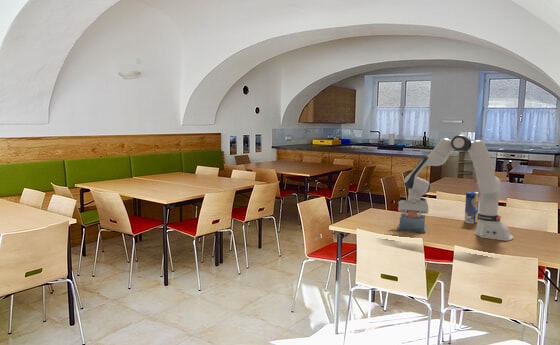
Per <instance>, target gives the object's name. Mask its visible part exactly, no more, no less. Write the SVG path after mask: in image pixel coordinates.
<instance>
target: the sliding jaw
mask: <svg viewBox="0 0 560 345" xmlns="http://www.w3.org/2000/svg"><path fill="white" fill-rule="evenodd" d="M417 215H419V213H417ZM400 217H406V214H405V212H401V215H400ZM419 218H420V219H424V225H426V224H425V222H426V219H425V218H426V214H421V215H420V216H419Z"/></svg>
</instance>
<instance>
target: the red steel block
mask: <svg viewBox="0 0 560 345" xmlns="http://www.w3.org/2000/svg"><path fill="white" fill-rule="evenodd" d="M407 214H408V218H417V214H419V213H418V212H415V211H408V212H407Z"/></svg>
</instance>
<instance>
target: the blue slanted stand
mask: <svg viewBox="0 0 560 345" xmlns="http://www.w3.org/2000/svg"><path fill="white" fill-rule="evenodd" d="M396 230H397V231H398V232H408V233H417V234H418V233H419V234H426V230H427V224H425V225H424V219H420V218H408V217H401V216H399V224H398V226H397V229H396Z"/></svg>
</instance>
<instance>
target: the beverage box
mask: <svg viewBox="0 0 560 345" xmlns="http://www.w3.org/2000/svg"><path fill="white" fill-rule="evenodd" d="M479 202H480V191H479V192H478V191H468V192H466V193H465V206H464V207H465V208H464V221H463V222H464V223H466V224H467V223H468V224H476V223H478V220H477V218H478V213H479Z"/></svg>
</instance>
